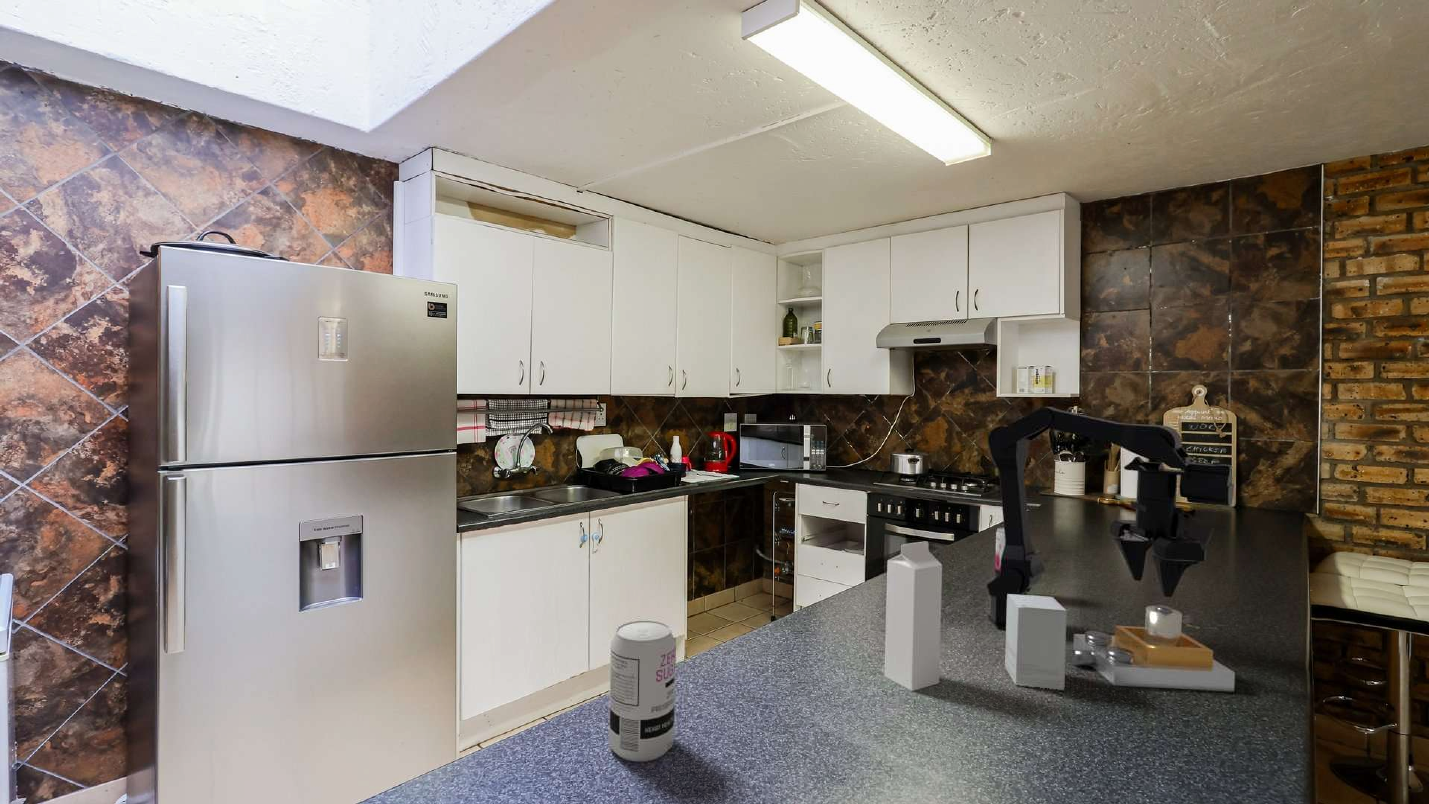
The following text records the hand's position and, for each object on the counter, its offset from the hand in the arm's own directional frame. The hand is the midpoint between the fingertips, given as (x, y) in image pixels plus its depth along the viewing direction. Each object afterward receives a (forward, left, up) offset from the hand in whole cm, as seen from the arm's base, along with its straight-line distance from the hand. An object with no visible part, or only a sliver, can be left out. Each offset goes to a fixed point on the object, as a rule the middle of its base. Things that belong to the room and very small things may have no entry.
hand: (1152, 588), depth 115 cm
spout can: (+1, -4, -10) cm, 10 cm away
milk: (-43, -13, -13) cm, 47 cm away
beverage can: (-11, +34, -13) cm, 38 cm away
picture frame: (-4, -4, -13) cm, 14 cm away
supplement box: (-23, -10, -13) cm, 28 cm away
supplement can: (-82, -37, -13) cm, 91 cm away
